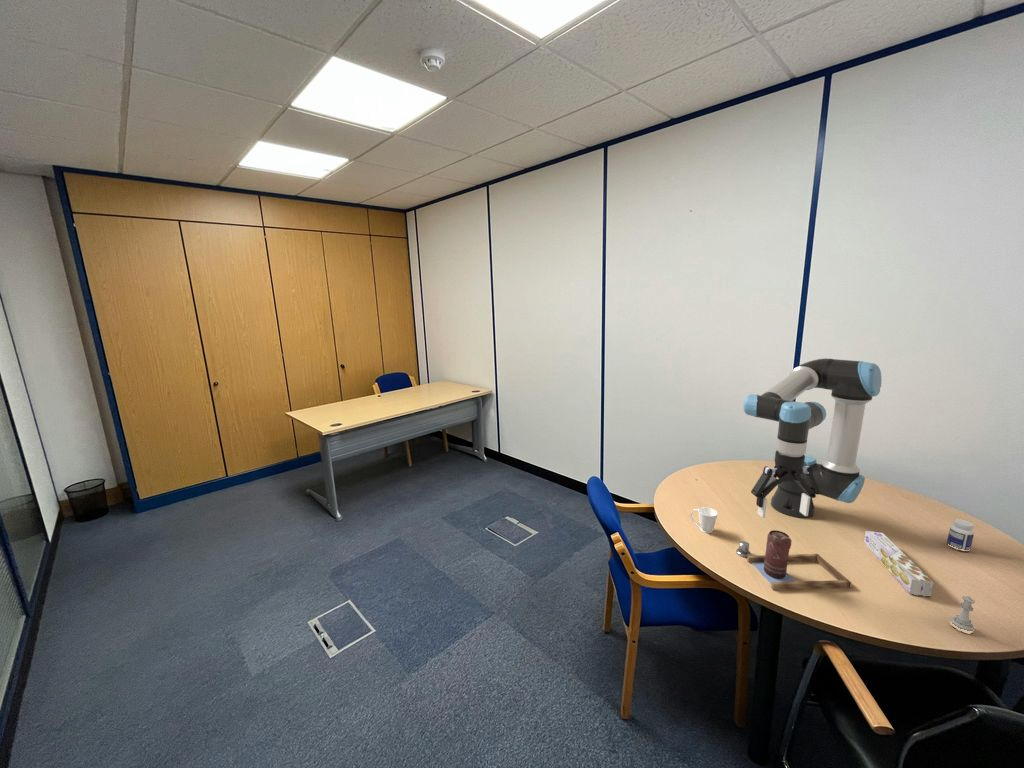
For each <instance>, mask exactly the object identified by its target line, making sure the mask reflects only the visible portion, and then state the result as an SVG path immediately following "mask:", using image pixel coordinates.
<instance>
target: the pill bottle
mask: <svg viewBox="0 0 1024 768" xmlns="http://www.w3.org/2000/svg"><path fill="white" fill-rule="evenodd" d="M952 523H953V524H952V525H950V526H949V529H948V530H949V531H948V535H947V539H946V540H947V541H946V544H947V543H948V544H949V545H951V546H953V547H956V548H958V549H964V550H969V549H970V550H971V548H972V545H973V540H974V535H975V532H974V530H973V529H974V523H972V522H970V521H967V520H964V519H960V518H956V519H954V520H953V522H952Z"/></svg>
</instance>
